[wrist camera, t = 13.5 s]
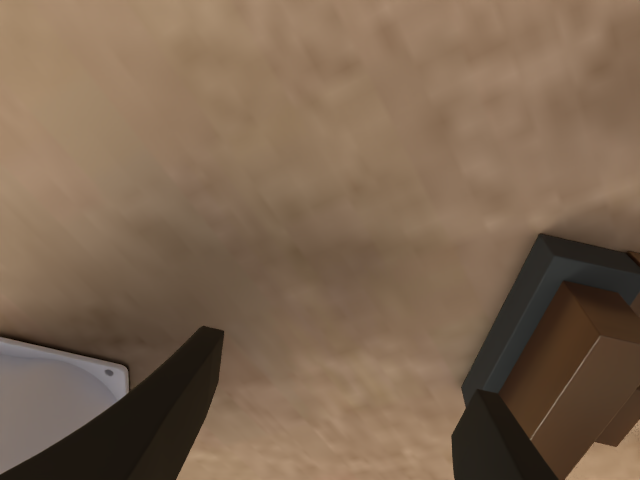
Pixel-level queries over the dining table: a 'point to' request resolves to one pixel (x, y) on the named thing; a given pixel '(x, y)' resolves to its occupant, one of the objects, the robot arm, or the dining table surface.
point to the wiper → (564, 347)
